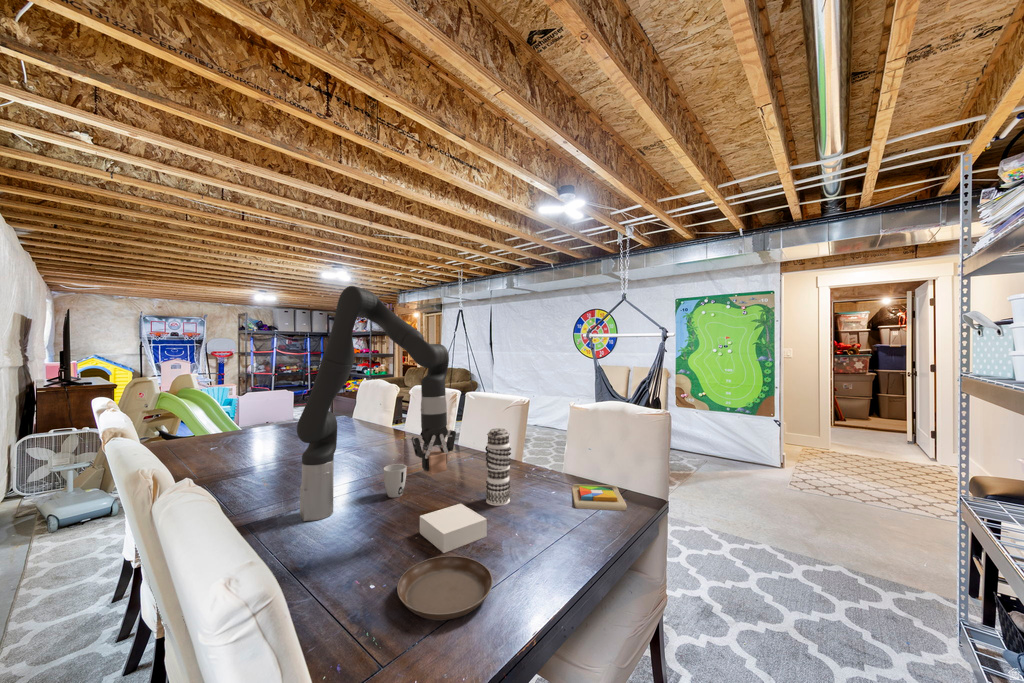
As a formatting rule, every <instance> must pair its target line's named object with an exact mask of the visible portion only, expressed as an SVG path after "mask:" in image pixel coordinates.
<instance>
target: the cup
mask: <svg viewBox="0 0 1024 683" xmlns="http://www.w3.org/2000/svg"><path fill="white" fill-rule="evenodd" d="M407 469H408V466H407V465H405V464H401V463H397V464H396V463H395V464H389V465H386V466H384V467H383V481H384V486H385V491H386V494H387V497H389V498H399V497H401V496H403V493H404V490H405V485H406V480H407Z"/></svg>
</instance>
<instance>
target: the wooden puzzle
mask: <svg viewBox="0 0 1024 683" xmlns="http://www.w3.org/2000/svg"><path fill="white" fill-rule="evenodd" d="M571 492H572V498H573V504H574V507H575V508H576V509H579V510H594V511H595V510H599V511H601V510H602V511H603V510H604V511H616V512H617V511H620V512H625V511H626V510H627V507H628V506H627V503H626V500H625V499H624V498H623V496H622V495H621V493H620V491H619V488H618V487H617V486H615V485H607V484H606V485H603V484H602V485H601V484H600V485H599V484H577V483H575V484H573V485H572V487H571Z"/></svg>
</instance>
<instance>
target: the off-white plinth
mask: <svg viewBox="0 0 1024 683" xmlns="http://www.w3.org/2000/svg"><path fill="white" fill-rule="evenodd" d="M487 520H488V519H487V518H486V517H484V516H482V515H480V514H479V513H477V512H476V511H474V510H473V509H471V508H469V507H467V506H466V505H464V504H463V503H461V502H460V503H457V504H454V505H451V506H448V507H445V508H442V509H439V510H438V509H437V510H435V511H431V512H428V513H425V514H421V515H419V534H420V535H421V536H422V537H423V538H425V539H426V540H427V541H428V542H430V543H431V544H432V545H434V546H435V547H436V549H438V550H439V551H441V553H443V554H446V553H448V552H450V551H454V550H455V549H456V550H457V549H458V548H460V547H464V546H465V545H469V544H471V543H474V542H476V541H478V540H481V539H484V538H487V536H488V535H487V529H488V528H487V526H488V524H487V523H488V521H487Z"/></svg>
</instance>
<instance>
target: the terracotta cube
mask: <svg viewBox="0 0 1024 683" xmlns="http://www.w3.org/2000/svg"><path fill="white" fill-rule="evenodd" d="M428 458H429V471H425V470H424V469H423V468H422V470H423V471H424V472H426V473H427V474H429V475H435V474H439V473H443V472H446V471H447V468H448V467H447V465H448V459H447V460H446V453H443V452H441V451H440V450H434V451H430V454H429V457H428Z"/></svg>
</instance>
